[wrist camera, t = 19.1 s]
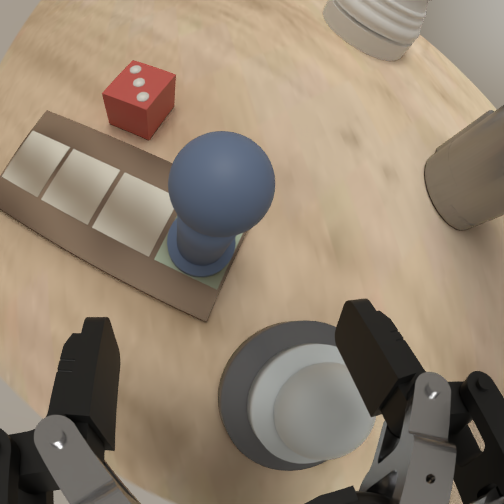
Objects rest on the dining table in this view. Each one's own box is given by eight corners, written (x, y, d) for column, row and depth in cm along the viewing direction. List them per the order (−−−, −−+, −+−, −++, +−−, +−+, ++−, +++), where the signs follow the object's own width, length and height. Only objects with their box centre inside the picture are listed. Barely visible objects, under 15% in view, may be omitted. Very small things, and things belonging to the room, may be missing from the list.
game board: (49, 116, 21) (46, 110, 20) (255, 209, 24) (259, 204, 23) (-8, 203, 19) (-14, 199, 18) (205, 321, 21) (206, 321, 20)
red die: (135, 91, 24) (132, 59, 20) (174, 106, 24) (175, 73, 20) (109, 123, 22) (101, 92, 19) (149, 140, 23) (146, 109, 19)
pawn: (185, 202, 21) (201, 88, 10) (242, 230, 22) (312, 141, 11) (156, 259, 20) (135, 185, 9) (216, 288, 21) (266, 249, 9)
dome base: (255, 297, 22) (262, 294, 20) (376, 349, 23) (390, 350, 21) (194, 436, 19) (195, 446, 17) (325, 471, 20) (336, 480, 18)
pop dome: (275, 325, 20) (314, 324, 14) (371, 363, 21) (428, 370, 15) (227, 436, 17) (247, 477, 12) (330, 462, 18) (375, 495, 13)
